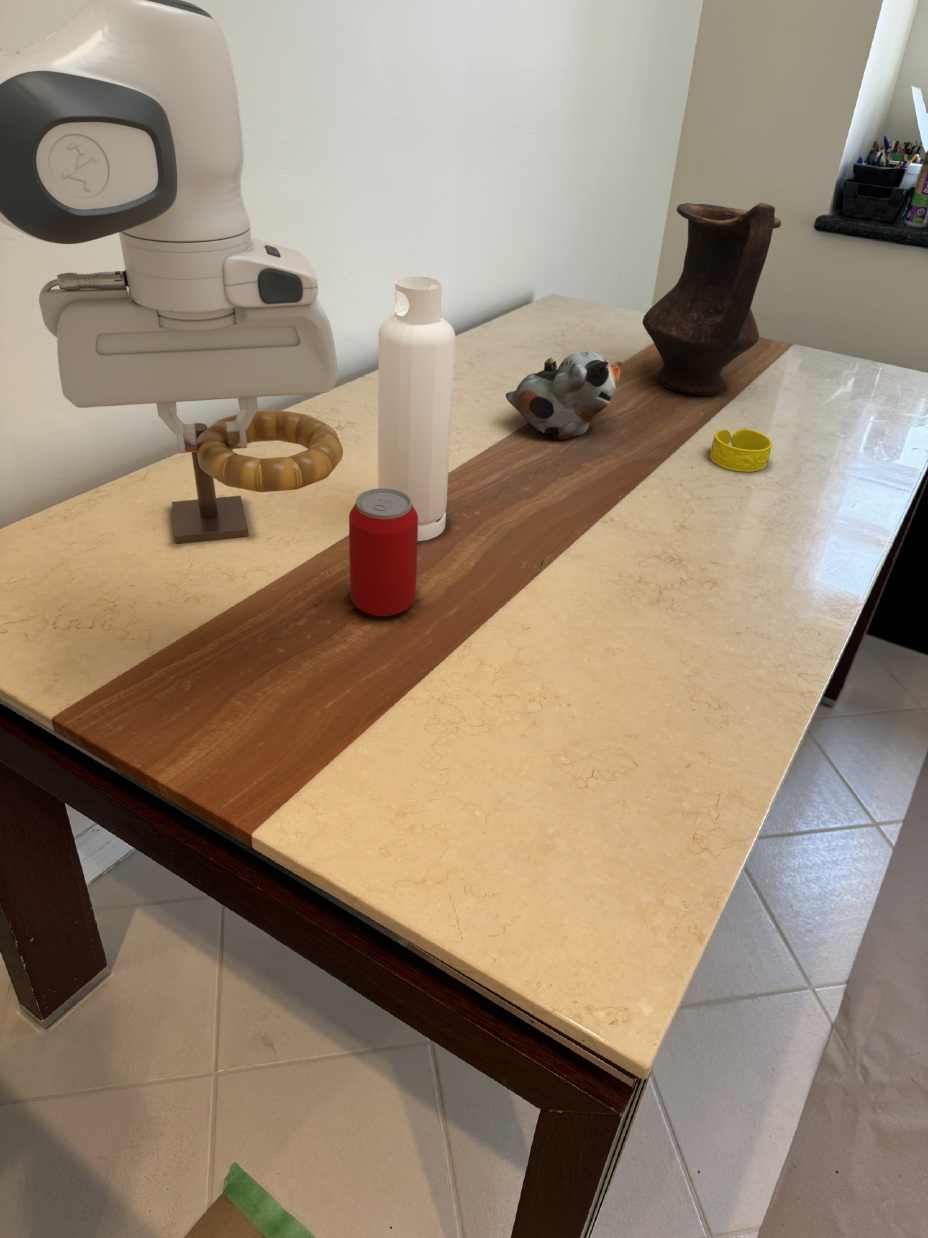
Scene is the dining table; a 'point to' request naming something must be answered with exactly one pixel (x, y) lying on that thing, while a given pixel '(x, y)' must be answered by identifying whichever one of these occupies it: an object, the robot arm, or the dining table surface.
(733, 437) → the bracelet
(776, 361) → the dining table surface
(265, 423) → the ring
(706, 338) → the jug
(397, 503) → the beverage can
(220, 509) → the post
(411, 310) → the bottle
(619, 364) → the lucky cat figurine
